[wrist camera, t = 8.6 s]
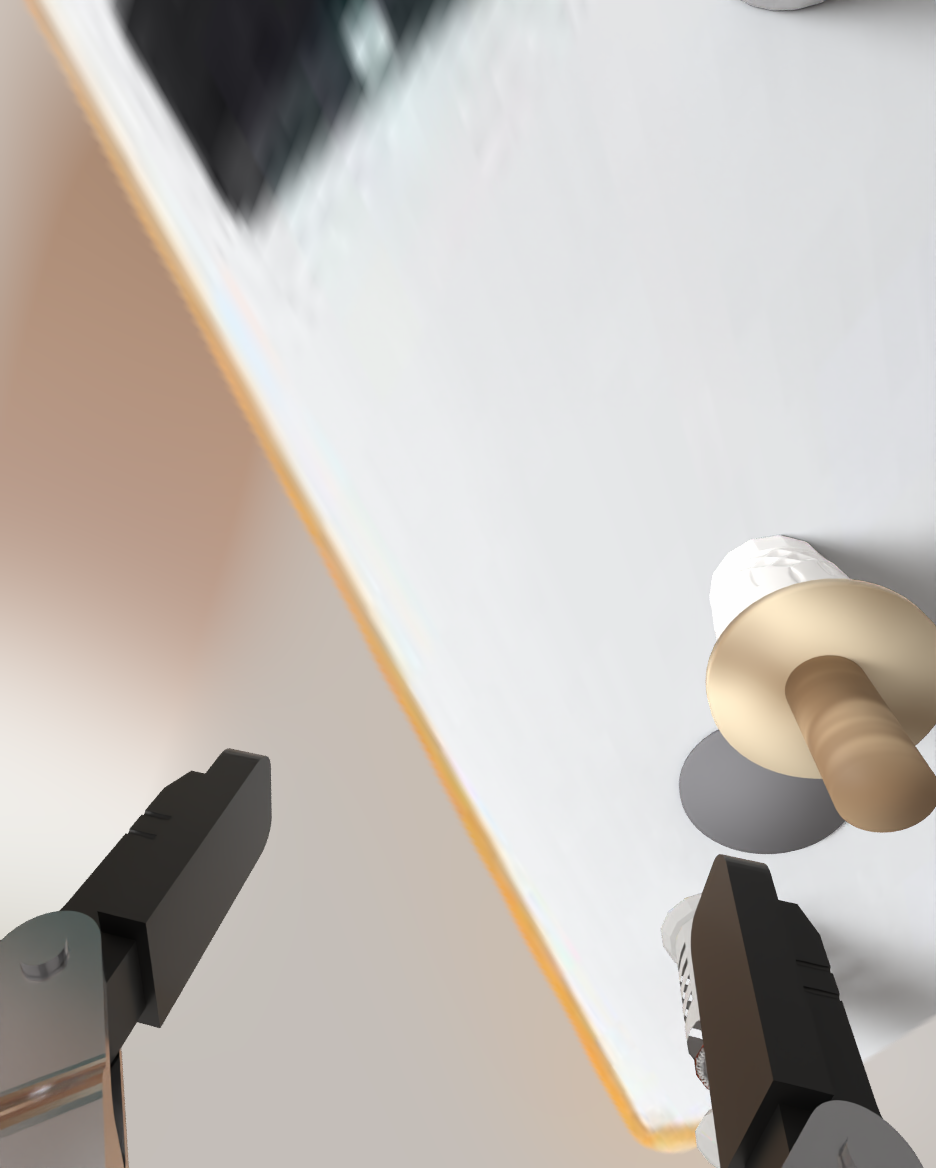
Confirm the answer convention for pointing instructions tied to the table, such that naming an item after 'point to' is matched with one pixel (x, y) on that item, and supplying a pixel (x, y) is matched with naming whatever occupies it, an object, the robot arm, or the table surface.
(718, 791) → the mat
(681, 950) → the french press
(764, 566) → the white cup
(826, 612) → the lid
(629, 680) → the table surface
